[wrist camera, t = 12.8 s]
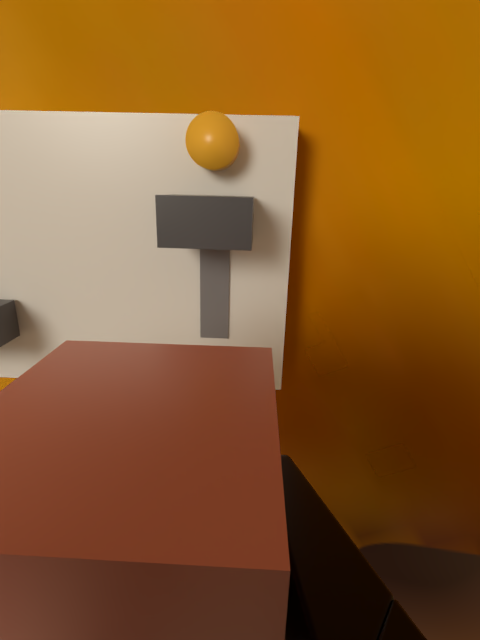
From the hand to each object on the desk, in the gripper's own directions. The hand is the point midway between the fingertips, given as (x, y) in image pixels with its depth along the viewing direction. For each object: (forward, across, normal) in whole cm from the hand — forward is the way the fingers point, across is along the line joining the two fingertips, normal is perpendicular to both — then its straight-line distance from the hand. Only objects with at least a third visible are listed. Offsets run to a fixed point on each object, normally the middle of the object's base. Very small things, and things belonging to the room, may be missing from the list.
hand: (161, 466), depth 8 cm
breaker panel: (+11, +5, -2) cm, 12 cm away
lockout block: (+1, 0, 0) cm, 1 cm away
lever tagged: (+9, 0, -4) cm, 10 cm away
